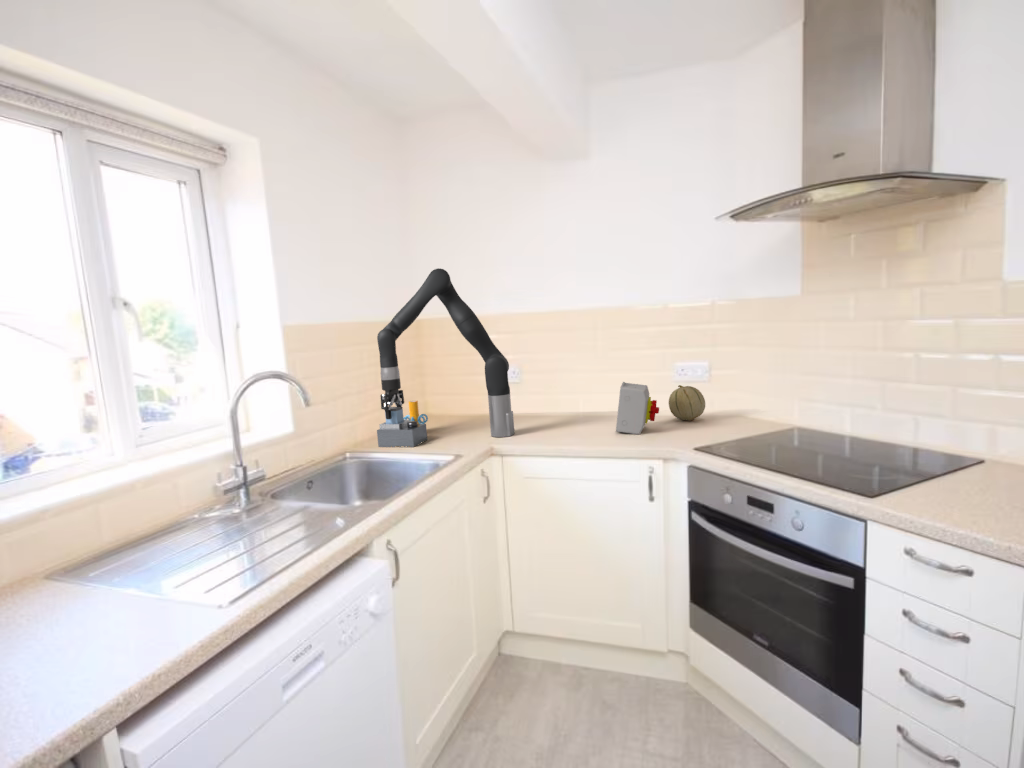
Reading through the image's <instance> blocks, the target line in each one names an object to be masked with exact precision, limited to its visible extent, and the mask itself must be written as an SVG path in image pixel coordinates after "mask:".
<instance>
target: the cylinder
mask: <svg viewBox="0 0 1024 768" xmlns="http://www.w3.org/2000/svg"><path fill="white" fill-rule="evenodd" d="M418 402H419V401H418V400H409V401H408V410H409V411H408V412H409V414H407V415H405V416H403V418H404V420H410V421H417V424H427V422H428V421H429V420H428V419H429V418H428V415H427V414H426V413H422V414H420V413H419V412H420V411H419V410H420V409H419V403H418ZM422 420H423V421H422Z"/></svg>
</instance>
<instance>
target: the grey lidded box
mask: <svg viewBox="0 0 1024 768" xmlns="http://www.w3.org/2000/svg"><path fill="white" fill-rule="evenodd" d="M403 409H404V408H403V406H401V407H397V406H391V409H390V410H391V417H392V418H391V419H386V414H385V413H384V415H385V416H384V417H385V422H386V424H399V423H401V422H404V420H405V419H404V412H403V411H404V410H403Z"/></svg>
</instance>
